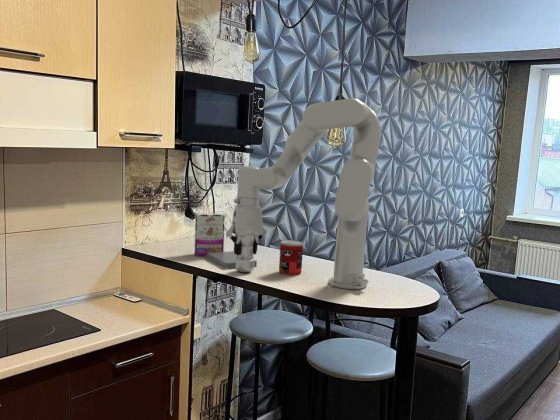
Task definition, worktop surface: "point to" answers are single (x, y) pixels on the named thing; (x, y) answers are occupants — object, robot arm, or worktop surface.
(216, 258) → the slate board
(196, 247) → the candy bar box
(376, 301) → the worktop surface
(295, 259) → the canned food
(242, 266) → the plastic bottle
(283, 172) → the robot arm
